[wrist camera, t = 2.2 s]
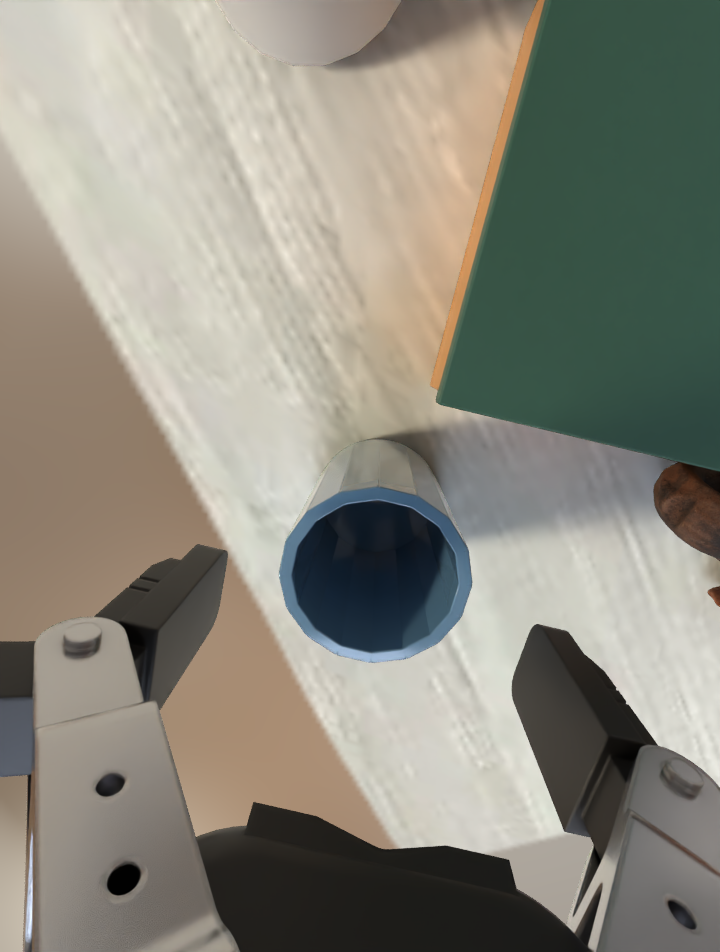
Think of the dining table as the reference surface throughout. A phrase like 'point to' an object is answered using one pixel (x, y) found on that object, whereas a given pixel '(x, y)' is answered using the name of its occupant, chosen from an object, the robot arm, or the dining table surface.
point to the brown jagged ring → (691, 508)
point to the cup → (376, 556)
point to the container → (600, 235)
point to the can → (308, 27)
